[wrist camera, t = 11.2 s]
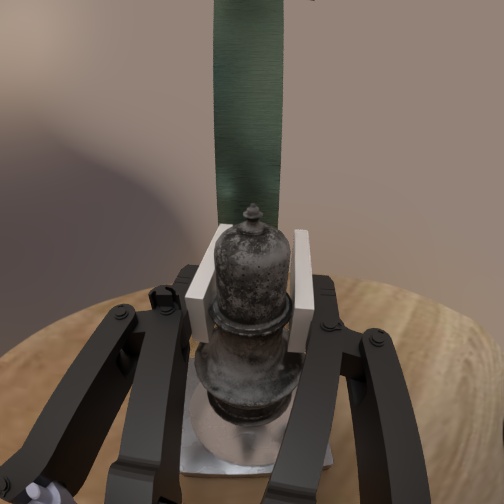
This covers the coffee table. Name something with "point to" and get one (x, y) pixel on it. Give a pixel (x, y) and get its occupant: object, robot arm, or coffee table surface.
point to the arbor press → (241, 213)
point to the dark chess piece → (250, 326)
